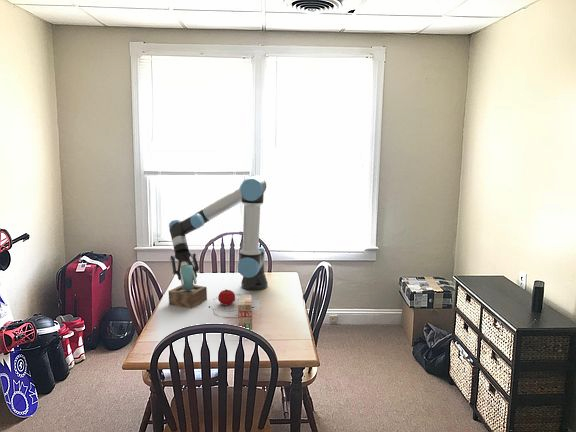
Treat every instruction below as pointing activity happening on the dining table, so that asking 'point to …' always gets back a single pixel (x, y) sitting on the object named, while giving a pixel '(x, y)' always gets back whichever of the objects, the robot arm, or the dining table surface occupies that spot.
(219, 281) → the dining table surface
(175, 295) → the wooden box
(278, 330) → the dining table surface
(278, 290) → the dining table surface
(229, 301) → the tomato
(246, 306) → the printed cardboard box
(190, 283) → the teal round block
